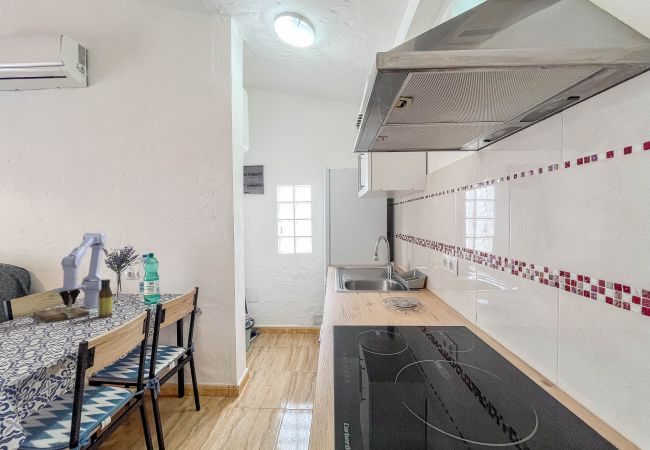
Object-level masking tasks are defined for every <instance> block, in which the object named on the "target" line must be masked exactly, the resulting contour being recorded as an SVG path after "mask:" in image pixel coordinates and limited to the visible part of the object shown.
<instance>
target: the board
mask: <svg viewBox="0 0 650 450" xmlns="http://www.w3.org/2000/svg"><path fill="white" fill-rule="evenodd" d="M74 306H75V307H78V317H77V318H81V317H86V316H87V317H88V316H90V311H89V310H87V309H86V308H83V307H81V306H80V307H79V306H77V305H74ZM63 307H64V306H62V307H56V308H51V309H44V310H38V311H33V313H32V316H33V315H34V316H33V317H35V318H36V317H37V318H36V319H38V318H39V319H38V320H40V321H42V322H44V323H47V322H48V323H53V321H54V322H59V321H63V320H64V321H65V320H69V319H71V318H67V316H68V315H67V314H65V313H63V312H62V308H63ZM73 319H75V317H74V318H73ZM58 320H59V321H58Z"/></svg>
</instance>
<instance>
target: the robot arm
mask: <svg viewBox="0 0 650 450" xmlns="http://www.w3.org/2000/svg"><path fill="white" fill-rule="evenodd" d="M106 242H107V236H106V234H105V233H104V232H85V233H84V234H83V236H82V241H81V243H80V244H79V246H77V247H75V248H73V250H72V251H71V252H69V254H68V255H67V256H64V257H63V258H62V260H61V266H62V271H63V277H62V278H63V281H62V283H63V284H62V287H60V288H55V289H53V290H52V293H53V294H55V295H56V294H58V295H60V298H61V300H62V301H63V306H68V304H69V297H73V300H72V305H75V303H76V300H77V299H78V296H79V295H80V294H81V291H82V293H84V296H83V297H84V299H83V305H81V306H80V308H82V309H85V310H87V309H93V308H98V298H99V291H100V290H101V280H102V279H104V278H103V277H102V276H101V275H100V273H99V272H100V267H101V262H102V261H101V259H102V253H103V248H105V246H106ZM88 248H91V253H90V254H91V255H90V260H89V262H90V263H89V268H88V273H87V276H85V277H83V278H82V281H81V284H80V285H78V271H79V269H78V268H79V267H80V266H81V262H82V259H83V258H84V256H85V255H86V253H87V251H86V250H87V249H88Z"/></svg>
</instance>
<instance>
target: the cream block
mask: <svg viewBox="0 0 650 450" xmlns="http://www.w3.org/2000/svg"><path fill="white" fill-rule="evenodd" d="M72 300H73V297H70V296H69V304H68V306H66V305H63V306H62V307H63V308H62V307H61V308H62V312H63V313H65V314H67V315H68V316H67V318H70V319H75V318H74V317H76V318H79V317H78V307H79V306H77V307H75V306H76V305H73V304H72Z"/></svg>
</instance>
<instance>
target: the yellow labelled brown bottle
mask: <svg viewBox="0 0 650 450" xmlns="http://www.w3.org/2000/svg"><path fill="white" fill-rule="evenodd" d="M110 285H111V279H110V278H103V279H102V280H101V290H100V291H99V298H98V307H97V309H98V318H101V319H102V318H109V317H112V316H113V305H114V304H113V302H114V301H113V293H112V292H113V291H112V290H111V287H110Z"/></svg>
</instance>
